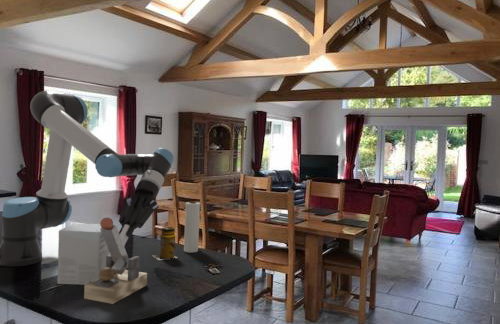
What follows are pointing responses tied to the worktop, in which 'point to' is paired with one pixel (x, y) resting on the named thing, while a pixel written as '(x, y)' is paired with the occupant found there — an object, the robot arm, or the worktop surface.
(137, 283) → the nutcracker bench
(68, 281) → the supplement box
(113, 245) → the lever
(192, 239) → the paper towel roll
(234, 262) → the worktop surface
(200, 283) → the worktop surface
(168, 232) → the condiment
